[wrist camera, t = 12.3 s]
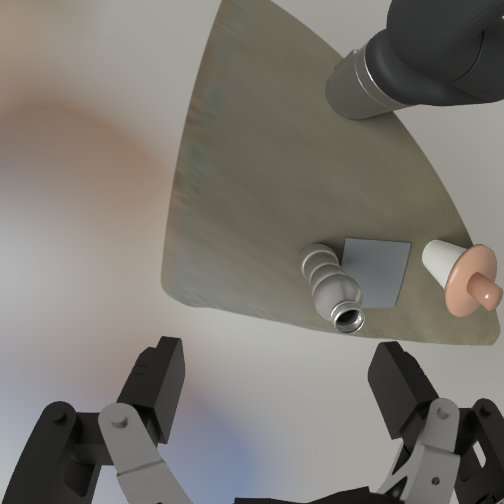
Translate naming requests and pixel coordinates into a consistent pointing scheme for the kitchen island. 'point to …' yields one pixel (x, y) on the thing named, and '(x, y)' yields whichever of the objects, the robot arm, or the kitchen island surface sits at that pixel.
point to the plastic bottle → (332, 288)
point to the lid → (473, 282)
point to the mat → (376, 269)
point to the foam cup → (441, 259)
